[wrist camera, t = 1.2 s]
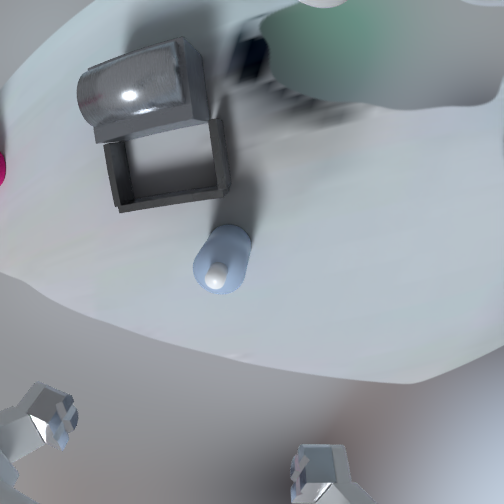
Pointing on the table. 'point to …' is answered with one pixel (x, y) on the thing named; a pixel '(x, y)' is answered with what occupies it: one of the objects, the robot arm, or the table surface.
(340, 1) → the pill bottle
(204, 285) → the light blue bottle
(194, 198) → the dark grey piece
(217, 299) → the table surface
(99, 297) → the table surface
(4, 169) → the pepper mill
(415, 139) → the table surface
